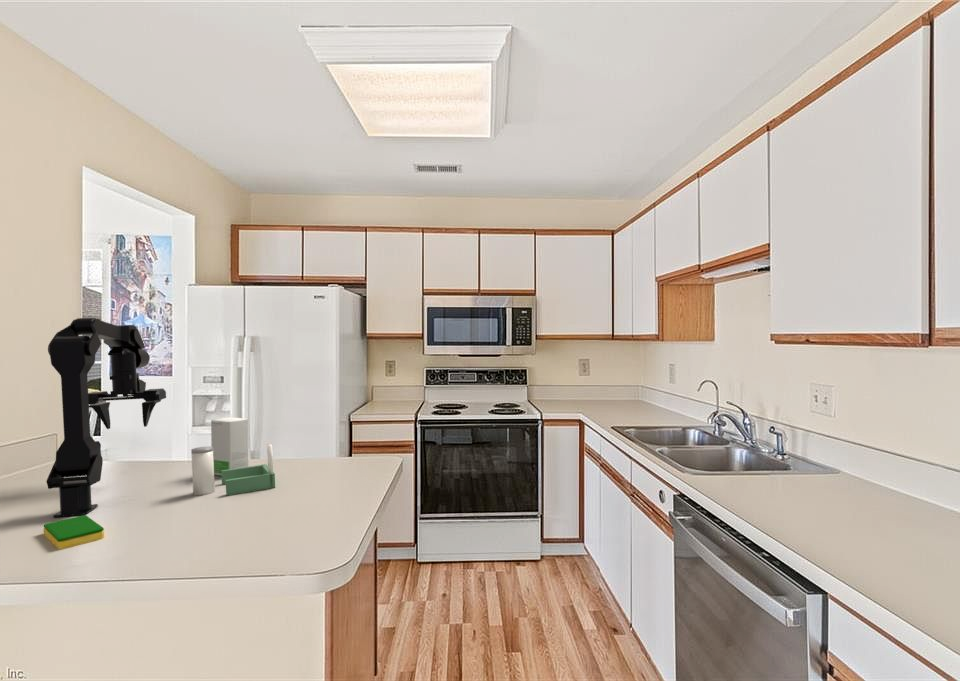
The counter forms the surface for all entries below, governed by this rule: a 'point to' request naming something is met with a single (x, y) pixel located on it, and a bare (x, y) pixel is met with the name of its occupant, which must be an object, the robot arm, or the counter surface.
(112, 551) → the counter surface
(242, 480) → the green u-shaped bracket
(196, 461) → the ball tube
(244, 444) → the skincare box
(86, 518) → the dish sponge
